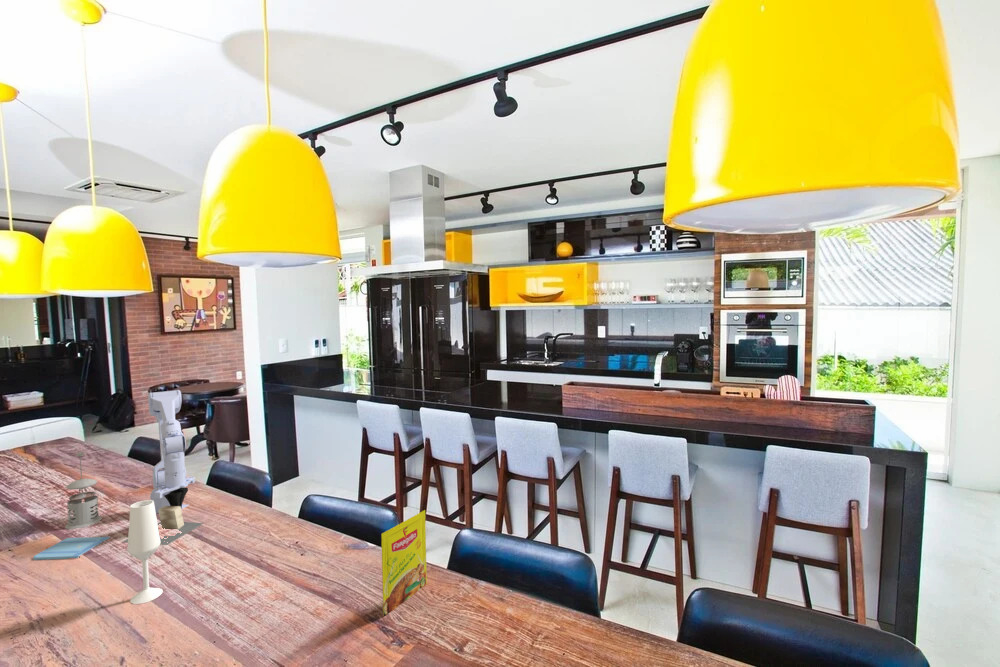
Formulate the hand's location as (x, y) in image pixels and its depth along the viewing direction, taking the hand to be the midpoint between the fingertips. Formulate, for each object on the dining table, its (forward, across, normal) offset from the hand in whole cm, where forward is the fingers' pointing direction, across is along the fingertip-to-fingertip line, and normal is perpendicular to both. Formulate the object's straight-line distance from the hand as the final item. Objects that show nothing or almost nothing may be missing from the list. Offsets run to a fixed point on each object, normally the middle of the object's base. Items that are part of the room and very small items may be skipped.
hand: (176, 511), depth 158 cm
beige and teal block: (+5, -2, 0) cm, 5 cm away
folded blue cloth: (+6, -17, +20) cm, 27 cm away
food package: (+6, -30, -91) cm, 96 cm away
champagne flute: (+6, -36, -24) cm, 44 cm away
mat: (+5, -5, 0) cm, 7 cm away
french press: (+6, 0, +36) cm, 37 cm away
